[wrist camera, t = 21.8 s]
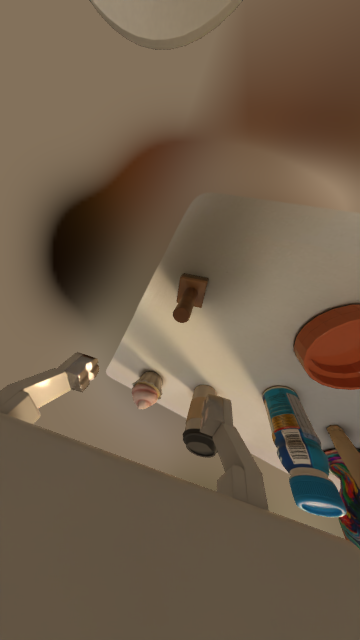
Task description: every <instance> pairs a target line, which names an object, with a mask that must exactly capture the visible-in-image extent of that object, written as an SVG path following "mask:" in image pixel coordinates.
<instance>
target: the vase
mask: <svg viewBox="0 0 360 640" xmlns="http://www.w3.org/2000/svg"><path fill="white" fill-rule="evenodd" d="M356 450H357V449H356ZM357 451H358V453H359V454H360V450H357ZM325 454H326V455H327V458H328V462H329V472H330V473H332V474H333V475H335V476H336V477H337V478H339V479H340V480H341V489H340V492H339V494H340V496H341V498H342V500H343V503H344V505H345V508H346V511H347V513H346V515H344V516H341V517H339V522H340V525H341V528H342V530H343V533H344V536H345V538H346V540H348V541H350V542H352V543H353V544H354V545H356V546H357V547H358V548H359V549H360V489H359V487H358V485H357V484H356V482H355V480H354V479H353V477H352V475H351V473H350V472H349V470H348V468H347V467H346V465H345V463H344V462H343V460H342V459H341V457H340V455H339V453H338V452H337V450H330V451H326V452H325Z"/></svg>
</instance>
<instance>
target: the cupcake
mask: <svg viewBox="0 0 360 640" xmlns="http://www.w3.org/2000/svg"><path fill="white" fill-rule="evenodd" d="M133 386H134V387H133V388H132V394H133V400H134V402H135V404H136V405H137V407H138V409H145V408H147V407H148V406H151V405H153V404H154V403H155V402H156V401H157V399H161V395H162V390H161V386H162V379H161V377H160V376H159V375H158V374H156V373H154V372H146V373H144V374H143V375H142V377H141V378H140V379H139V380H137V381H136V382H134V383H133Z"/></svg>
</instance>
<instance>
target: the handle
mask: <svg viewBox="0 0 360 640" xmlns="http://www.w3.org/2000/svg"><path fill="white" fill-rule="evenodd" d="M327 431H328V433H329V434H330V437H331V439H332V442H333V444H334V446H335V448H336V450H337V452H338V453H339V455H340V457H341V459H342V460H343V462H344V463H345V465H346V467H347V468H348V470H349V472H350V473H351V475H352V477H353V479H354V480H355V482H356V484H357V485H358V487H359V489H360V454H359V453H358V451H357V450H356V448H355V447H354V445H353V444H352V442H351V441H350V439H349V438H348V437H347V435H346V434H345V433H344V431H343V430H342V429H341V428H340V427H338V426H337V425H335V426H332V425H330V426H329V427H328V428H327Z"/></svg>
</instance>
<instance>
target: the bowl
mask: <svg viewBox="0 0 360 640" xmlns="http://www.w3.org/2000/svg"><path fill="white" fill-rule="evenodd" d="M294 350H295V355H296V357H297V358H298V360H299V361H300V363H301V365H302V366H303V368H304V369H305V371H306V372H307V374H308V375H309V376H310V377H311V378H312V379H313V380H315V381H316V382H318V383H320V384H322V385H325V386H328V387H332V388H336V389H348V390H354V389H360V304H359V305H348V306H344V307H339V308H335V309H332V310H330V311H328V312H325V313H323V314H321V315H319V316H317V317H315V318H314V319H313V320H311V321H310V322H309V323H308V324H306V325H305V326H304V327H303V329H302V330H301V331H300V333H299V334H298V335H297V337H296V341H295V344H294Z"/></svg>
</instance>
